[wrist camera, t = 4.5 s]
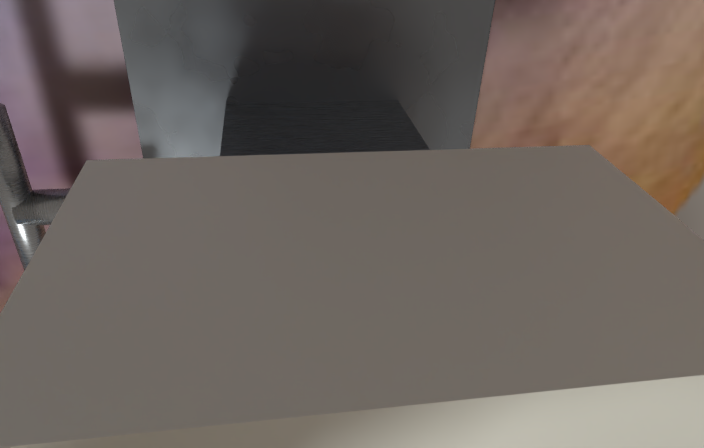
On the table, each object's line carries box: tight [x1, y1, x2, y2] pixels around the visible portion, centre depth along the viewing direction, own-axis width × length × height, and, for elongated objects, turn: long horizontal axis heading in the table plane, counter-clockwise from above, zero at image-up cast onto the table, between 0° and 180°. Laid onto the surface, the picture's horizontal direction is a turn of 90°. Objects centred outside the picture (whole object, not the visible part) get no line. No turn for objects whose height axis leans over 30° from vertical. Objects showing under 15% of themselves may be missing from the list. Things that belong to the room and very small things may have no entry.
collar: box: [0, 145, 704, 448], centre depth 11 cm, size 10×10×6 cm
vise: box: [0, 0, 495, 271], centre depth 16 cm, size 14×16×15 cm
